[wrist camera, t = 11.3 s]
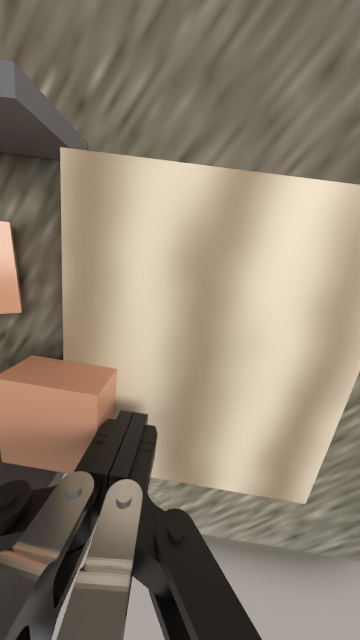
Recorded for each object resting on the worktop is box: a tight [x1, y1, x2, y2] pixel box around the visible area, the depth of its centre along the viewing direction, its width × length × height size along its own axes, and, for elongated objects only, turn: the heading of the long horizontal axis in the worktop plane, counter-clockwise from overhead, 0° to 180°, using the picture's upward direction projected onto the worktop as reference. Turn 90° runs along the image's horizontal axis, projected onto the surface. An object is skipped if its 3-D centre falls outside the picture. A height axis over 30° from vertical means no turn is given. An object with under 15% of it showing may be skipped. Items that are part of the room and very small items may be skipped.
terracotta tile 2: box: [0, 355, 117, 474], centre depth 12 cm, size 5×5×2 cm
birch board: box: [60, 147, 360, 504], centre depth 13 cm, size 16×18×3 cm
